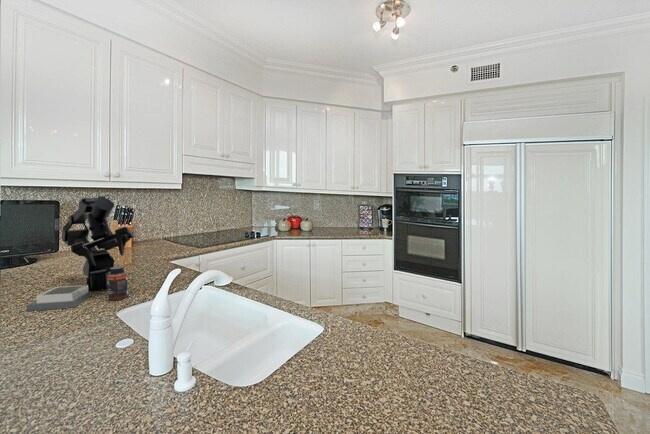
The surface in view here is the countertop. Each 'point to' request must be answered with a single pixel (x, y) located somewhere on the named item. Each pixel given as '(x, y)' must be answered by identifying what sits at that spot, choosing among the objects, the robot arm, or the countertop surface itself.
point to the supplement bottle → (117, 283)
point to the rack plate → (60, 298)
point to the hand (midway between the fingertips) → (108, 260)
